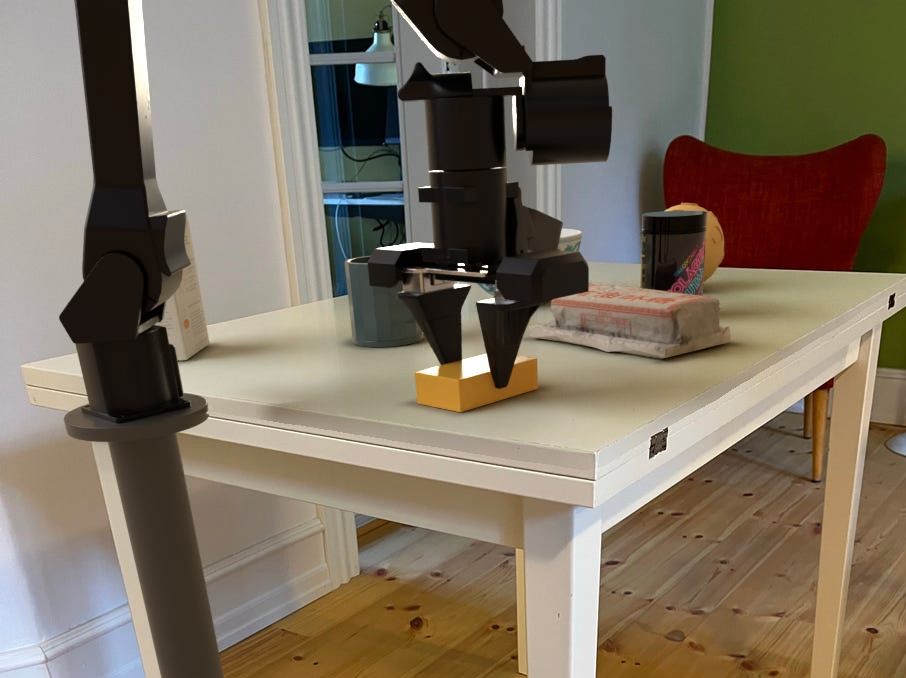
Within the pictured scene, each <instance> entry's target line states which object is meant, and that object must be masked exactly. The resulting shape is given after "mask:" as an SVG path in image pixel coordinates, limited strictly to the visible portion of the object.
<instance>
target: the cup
mask: <svg viewBox="0 0 906 678" xmlns="http://www.w3.org/2000/svg"><path fill="white" fill-rule="evenodd" d="M370 257H371V255H366V256H357V257H352V258H348V259H346V260H345V261H344V271H345V279H346V289H347V298H348V308H349V317H350V327H351V328H350V329H351V337H352V342H353V344H354V345H356V346H359V347H364V348H389V347H390V348H392V347H401V346H407V345H412V344H415V343H418V342H421V341H422V340H423V339H424V333H423V332H422V330H421V328H420V327H419V325H418V324H417V322H416V321H415V319H414V317H413V316H412V314H411V313H410V311H409V310H408V308H407V306H406V305H405V303H404V302H403V301H402V300H398V299H397V296H396V293H398V292H403V282H402V281H399V283H398V284H397V286H396V287H394V288H384V287H374V286H370V283H369V273H368V260H369V259H370Z"/></svg>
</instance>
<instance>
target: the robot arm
mask: <svg viewBox="0 0 906 678" xmlns="http://www.w3.org/2000/svg"><path fill="white" fill-rule="evenodd" d="M389 1H390V3H391V4H392V5H393V6H394V8H395V9H396V10H397V11H398V12H399V14H400V15H401V16H402V17H403V19H404V20H405V21H406V23H407V24H408V25H409V26H410V27H411V28H412V29H413V31H414V32H415V33H416V35H418V37H419V38H420V39H421V41H422V42H424V44H425V45H426V46H427V47H428V49H429V50H430V51H431V52H432V53H433V54H434V55H435V56H436V57H437V58H439V59H440V60H442V61H444V62H446V63H448V64H452V65H464V64H469V63H473V64H475V65H477V66H478V67H479V68H481V69H482V70H484V71H485V72H487V73H488V75H490V76H492V77H494V78H496V79H509V78H510V79H512V78H518V79H519V86H503V87H483V88H473V78H472V72H471V71H466V72H465V71H464V72H446V73H430V72H429V71H428V70H427V68H426V67H425V66H424V64H423V63H422V62H420V61H418V62H416V63H415V64H414V67H413V69H412V72H411V74H410V75H409V78H408V79H407V81H406V82H405V83H404V84H403V85H402V86H401V87H400V88H398V90H397V98H398V99H399V101H400V102H402V103H411V102H413V103H414V102H424V119H425V134H426V147H427V148H426V149H427V165H428V179H429V186H421V187H417V193H418V194H417V195H418V203H426V204H427V203H429V204H430V211H431V227H432V242H433V243H430V242H429V243H427V242H411V243H403V244H399V245H391V246H384V247H377V248H374V250H373V252H372V253H371V254H370V256H371V257H370V259H369V260H368V273H369V283H370V286H374V287H384V288H394V287H396V286H397V284H398V283H399V281H402V282H403V292H398V293H396V296H397V299H398V300H402V301H403V302H404V303H405V305H406V306H407V308H408V310H409V311H410V313H411V314H412V316H413V317H414V319H415V321H416V322H417V324H418V325H419V327H420V328H421V330H422V332H423V336H424V337H425V339H426V341H427V342H428V344H429V346H430V348H431V349H432V352H433V353H434V356H435V357H436V359H437V361H438V363H439V364H440V365H444V364H448V363H452V362H456V361H460V360H463V338H462V336H463V334H462V332H463V330H462V328H463V327H462V326H463V325H462V309H463V306H464V304H465V302H466V300H467V298H468V296H469V294H470V291H471V289H472V285H471V284H459V283H472V284H477V283H480V284H491V285H495V289H494V298H493V297H492V298H488V299H483V300H479V301H476V302H475V307H476V312H477V317H478V321H479V327H480V330H481V335H482V339H483V345H484V348H485V354H487V359H488V364H489V368H490V372H491V375H492V378H493V382H494V385H495V388H497V389H502V388H505V387H507V386H508V383H509V380H510V377H511V373H512V370H513V367H514V364H515V360H516V357H517V355H518V354H519V351H520V347H521V344H522V341H523V338H524V335H525V333H526V330H527V327H528V325H529V322H530V320H531V319H532V317H533V316H534V314H535V313H536V312H538V310H539V309H540V308H541V306H542V305H543V304H547V303H551V301H552V300H553V299H557V298H562V297H566V296H571V295H575V294H580V293H584V292H589V283H590V281H589V280H590V275H589V274H590V268H589V264H588V262H587V260H586V259H585V257H584V256H583V254H582V253H581V251H578V252H577V251H558V245H559V241H560V236H561V231H562V229H563V225H564V223H563V221H562V220H560V219H557V218H555V217H553V216H551V215H550V214H546V213H544V212H543V211H540V210H538V209H535V208H532V207H529V206H526V205H523V200H522V188H521V187H520V185H519V181H508V172H507V171H508V170H507V169H508V168H507V145H506V144H507V143H506V142H507V141H506V110H505V97H512V133H513V146H514V151H515V152H523V151H525V152H527V153H528V160H529V165H530V167H531V166H548V165H568V164H584V163H586V164H587V163H604V162H607V161H608V160H609V156H610V152H611V144H612V131H613V105H610V94H609V84H608V83H609V82H608V78H607V74H606V73H607V72H606V71H607V69H606V66H607V65H606V64H607V61H606V59H607V58H606V57H605V55H604V54H589V55H585V56H581V57H578V58H575V59H574V58H573V59H557V60H539V61H536V60H535V61H533V60H532V59H531V57H530V55H529V54H528V52H527V51H526V45H524V44H521V43H520V41H519V40H518V38H517V37H516V35H515V34H514V32H513V30H512V29H511V28H510V27H509V25H508V24H507V22H506V21H505V19H504V17H503V16H504V12H505V10H504V1H503V0H389ZM73 3H74V9H75V19H76V29H77V38H78V46H79V48H78V49H79V55H80V65H81V73H82V85H83V92H84V101H85V102H84V103H85V111H86V120H87V129H88V139H89V148H90V157H91V165H92V177H93V178H92V179H93V180H92V189H91V192H90V193H91V194H90V197H89V198H90V199H89V203H88V208H87V213H86V216H85V217H86V218H85V221H84V228H83V244H82V264H81V265H82V266H81V274H82V275H81V276H82V279H83V281H82V283H81V285H80V286H79V287H78V288H77V290H76V291H75V293H73V295H72V297H71V298H70V300H69V301H68V302H67V304H66V306H65V307H64V308H63V309H62V311H61V313H60V314H59V316H58V320H59V322H60V324H61V325H62V327H63V329H64V330H65V332H66V333H67V335H68V337H69V338H70V340H71V342H72V343H73V344H75V349H76V353H77V359H78V362H79V367H80V371H81V374H82V379H83V383H84V388H85V392H86V396H87V400H88V404H89V405H86V404H84V405H85V406H83V405H81V406H82V407H81V406H80V407H81V410H82V413H85V414H88V415H91V416H95V417H98V418H101V419H104V420H107V421H110V422H113V423H126V422H130V421H134V420H138V419H142V418H146V417H150V416H155V415H159V414H163V413H167V412H171V411H175V410H179V409H183V408H188V407H190V406H191V404H190V400H186V399H182V398H179V397H182V396H183V394H184V393H185V392H184V388H183V382H182V377H181V372H180V367H179V360H177V355H176V349H175V346H173V345H172V344H169V340H168V335H167V329H166V327H162V326H157V325H155V324H156V323H157V322H161V321H162V320H163V317H164V311H165V305H166V300H168V299H169V298H170V297H171V296H172V295H173V294H174V293H175V292H176V291H177V289H178V288H179V286H180V283H181V281H182V273H183V269H184V268H186V267H188V266H190V265H191V262H190V260H189V257H188V255H187V253H186V248H185V243H184V236H185V225H186V215H187V213H186V210H185V209H176V210H175V209H174V210H168V209H167V206H166V204H165V200H164V197H163V195H162V192H161V190H160V188H159V187H160V186H159V184H158V180H157V172H156V171H157V170H156V161H155V160H156V159H155V147H154V137H153V136H154V135H153V125H152V124H153V123H152V113H151V101H150V88H149V75H148V65H147V64H148V63H147V51H146V39H145V27H144V16H143V15H144V13H143V4H142V0H74V2H73ZM455 282H459V283H455Z"/></svg>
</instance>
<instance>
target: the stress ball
mask: <svg viewBox="0 0 906 678" xmlns="http://www.w3.org/2000/svg"><path fill="white" fill-rule="evenodd" d="M664 211H705V212H707V226H706V227H707V230H706V242H705V260H704V278H703V284H704V283H705V282H706V281H708V280H709V279H710V278H711V277H712V276H713V275H714V274H715V273H716V271H717V269H718V268H719V266H720V264H722V262H723V261H724V258H725V237H724V232H723V228H722V226H721V224H720V223H719V219H718V217H717V216H716V215H715V214H714V212H712V210H711V211H710V210H709V211H708V209H705V208H704V207H701V206H699V204H698V203H695V202H693V203H691V202H681V203H680V204H677V205H674V206H671V207H669V208H667V209H665V210H664Z"/></svg>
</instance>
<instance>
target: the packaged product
mask: <svg viewBox="0 0 906 678" xmlns="http://www.w3.org/2000/svg"><path fill="white" fill-rule="evenodd" d="M720 304H721V303H720V300H719V299H718V298H716V297H712V296H706V295H703V296H701V295H691V294H684V293H676V292H669V291H661V290H651V289H642V288H640V287H635V286H633V287H632V286H624V285H616V284H609V283H602V282H589V292H584V293H580V294H575V295H571V296H566V297H562V298H557V299H553V300H552V301H551V302H550V310H551V312H552V315H553V317H554V318H553V319H554V320H550V321H547V322H542V323H537V325H535V326H534V325H529V326H528V329H529V336H530V338H535V339H543V340H549V341H556V342H563V343H569V344H574V345H579V346H584V347H589V348H594V349H598V350H600V351H603V352H606V353H608V352H618V353H624V354H629V355H636V356H642V357H647V358H654V359H658V360H659V359H661V360H662V359H667V358H670V357H675V356H678V355H679V356H680V355H683V354H686V353H691V352H696V351H701V350H705V349H708V348H711V347H715V346H719V345H723V344H727V343H730V342H731V329H730V325H728V326H726V327H725V326H721V325H720V316H719V314H720V312H721V307H720Z"/></svg>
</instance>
